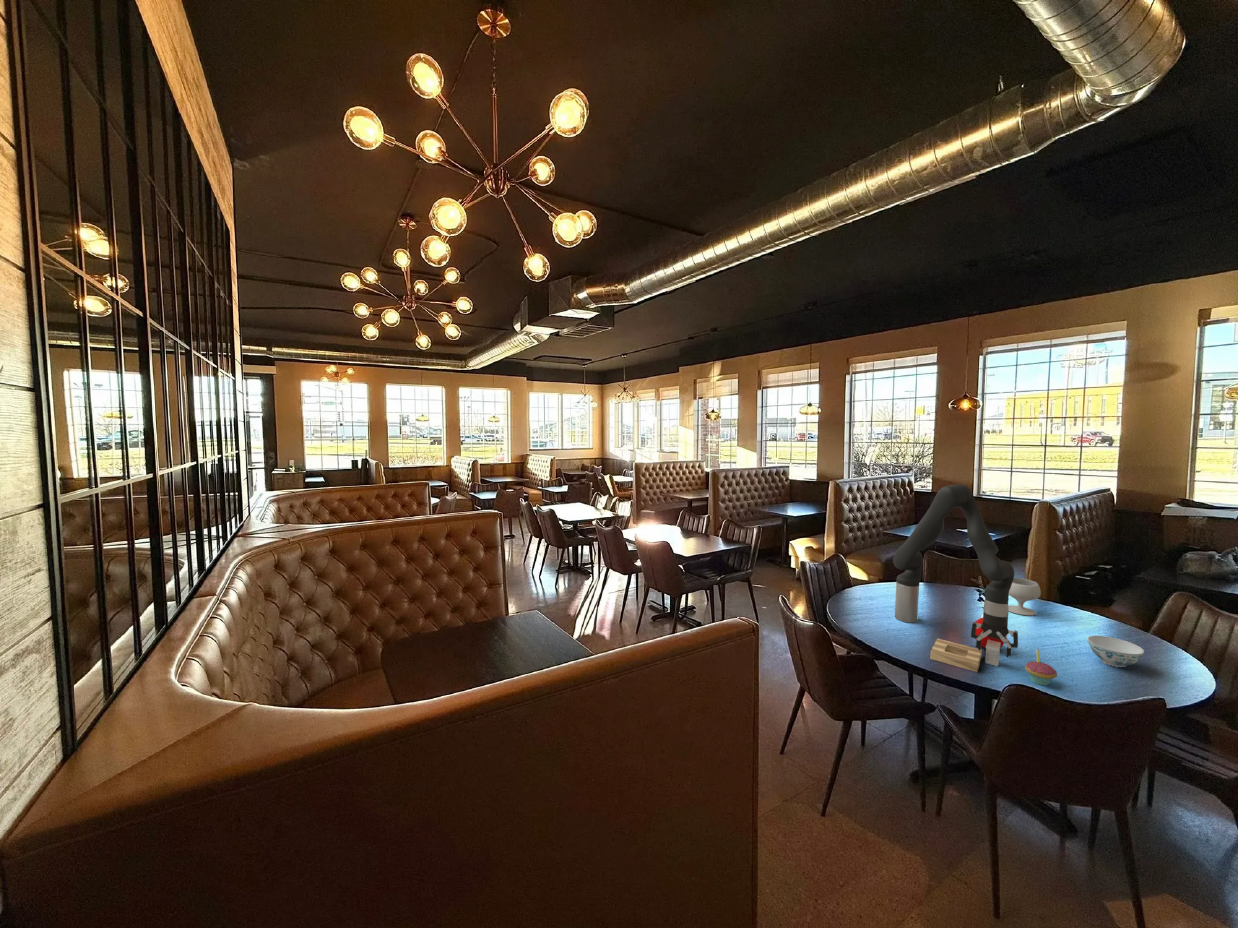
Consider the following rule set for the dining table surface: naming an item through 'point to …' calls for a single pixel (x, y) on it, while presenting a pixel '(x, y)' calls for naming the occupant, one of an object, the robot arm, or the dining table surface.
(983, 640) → the tomato
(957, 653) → the well block
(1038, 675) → the cupcake
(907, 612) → the robot arm
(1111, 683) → the dining table surface
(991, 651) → the grey stepped wood block
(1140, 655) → the chinaware
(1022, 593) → the chalice
